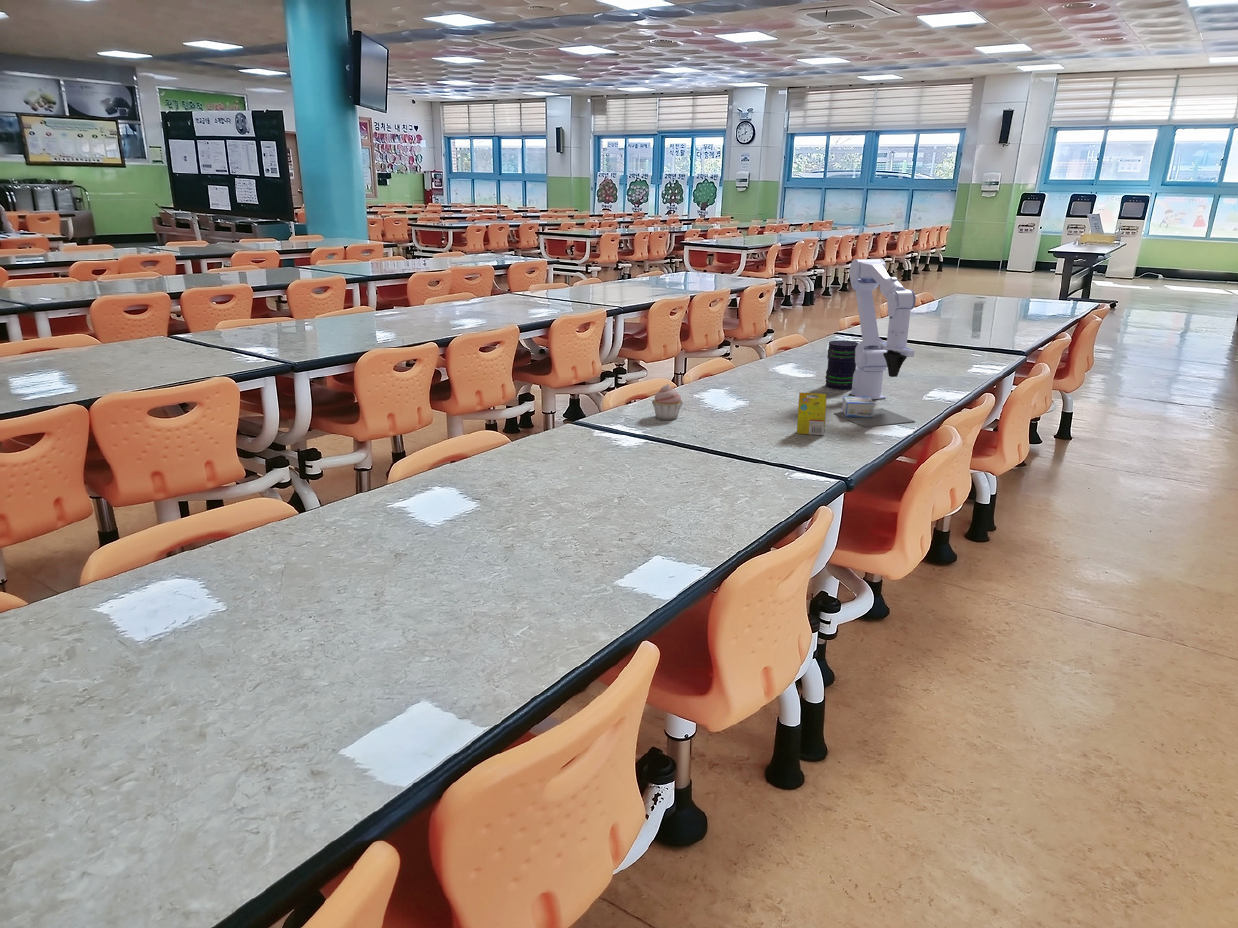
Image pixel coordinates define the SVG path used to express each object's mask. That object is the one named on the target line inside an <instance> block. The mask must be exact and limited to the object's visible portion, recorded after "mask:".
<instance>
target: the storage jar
mask: <svg viewBox="0 0 1238 928" xmlns="http://www.w3.org/2000/svg"><path fill="white" fill-rule="evenodd" d="M859 343H860V342H857V341H855V340H853V341H852V340H841V339H840V340H838V339H837V340H831V341H828V349H827V356H826V357H827V368H826V370H825V371H826V372H825V385H824V386H825V388H827V389H830V390H835V391H836V390H837V391H852V382H853V374H854V372H855V370H856V369H857V366H856V363H855V348H856V346H857V345H858V344H859Z"/></svg>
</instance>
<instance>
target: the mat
mask: <svg viewBox="0 0 1238 928" xmlns="http://www.w3.org/2000/svg"><path fill="white" fill-rule="evenodd" d="M833 415H835V416H838V417H840V418H843V419H845V420H847V421H848V422H851V423H853V424H856V425H857V426H860V427H863V428H871V427H874V428H875V427H883V426H891V425H893V426H894V425H902V424H908V423H909V424H911V423H916V420H913V419H910V418H908V417H905V416H903V415H901V414H898V413H895V412H893V411H891V410H888V409H885V408H882V407H881V408H880V407H879V408H874V414H873V418H869V417H846V416H845V414H844V413H843V411H841V412H839V411H837V412H833Z"/></svg>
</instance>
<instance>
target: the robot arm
mask: <svg viewBox="0 0 1238 928" xmlns="http://www.w3.org/2000/svg"><path fill="white" fill-rule="evenodd" d="M849 267H850V268H849V271H848V272H849V273H848V274H849V280H850V285H851V286H850V287H851V288H852V289H853V290H854V291H855V297H856V304H857V311H858V319H859V325H860V332H861V337H862V338H861V339H862V341H860V342H858V343H859V344H858V345H857V346H856V348H855V363H856V370H855V372H854V374H853V382H852V390H851V391H849V395H852V396H859V397H870V399H871V400H879V399H887V396H886V395H883V394H882V388H883V377H884V371H886V370H887V371H888V372H887V373H888V377H890V378H897V377H898V375H899V372H900V370H901V368H902V365H903V364H904V362H905V361H906V360H907V358H914V357H915V349H911V348H910V347H908V337H909V336H908V335H909V327H910V317H911V311H912V310H913V309H914V308H915V305H916V303H917V302H916V301H917V297H916V293H915V292H914V290H913V289H906V288H905V287H904V286H903V284H901V282H900V281H899V280H898V278H897V277H896V276H893V277H892V276H890V275H889V273H888V272H887V270H886V269H887V264H886V262H885V260H884V259H883V258H876V259H875V258H873V259H872V258H870V259H867V258H866V259H865V258H864V259H861V258H860V259H858V258H854V259H853V260H852V262H850V266H849ZM877 288H879V290H880V292H881V294H882V296H884V298H885V299H886V300H887V301H886V306H887V314H888V315H887V316H888V317H889V318H888V328H887V336H886V341H884V340H883V339H882V338H880V335H879V329H878V322H877V315H876V310H875V309H876V308H875V302H874V296H873V291H874V290H876V289H877Z"/></svg>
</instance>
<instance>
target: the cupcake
mask: <svg viewBox="0 0 1238 928" xmlns="http://www.w3.org/2000/svg"><path fill="white" fill-rule="evenodd" d="M651 404H652V406H653V409H654V413H655V414H654V415H655V417H656V418H657V419H658V420H662V421H672V420H675V419H678V417H679V413H680V410H681V407H682V405H683V404H684V401H683V400H682V397H681V394H679V393H678V391H677V390H676V389H674V388H673V387H671V386H670V383H667V384H666V385H663V386H662V387H661V388H660V389H659V391H657V392H656V393H655V395H654V399H653V400H651Z"/></svg>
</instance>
